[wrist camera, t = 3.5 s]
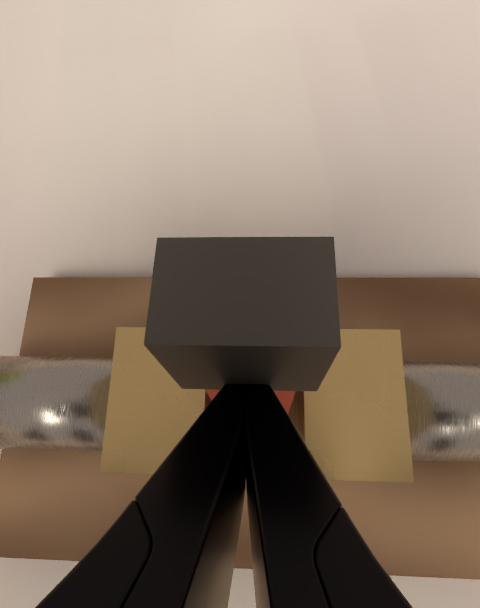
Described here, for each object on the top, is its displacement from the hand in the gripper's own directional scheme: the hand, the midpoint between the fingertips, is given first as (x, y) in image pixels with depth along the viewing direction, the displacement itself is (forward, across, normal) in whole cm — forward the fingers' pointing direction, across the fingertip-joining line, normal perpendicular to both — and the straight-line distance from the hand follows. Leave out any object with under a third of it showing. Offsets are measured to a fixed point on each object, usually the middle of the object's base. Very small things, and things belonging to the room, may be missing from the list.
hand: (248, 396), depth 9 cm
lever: (+5, 0, +5) cm, 7 cm away
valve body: (+7, 0, +7) cm, 10 cm away
